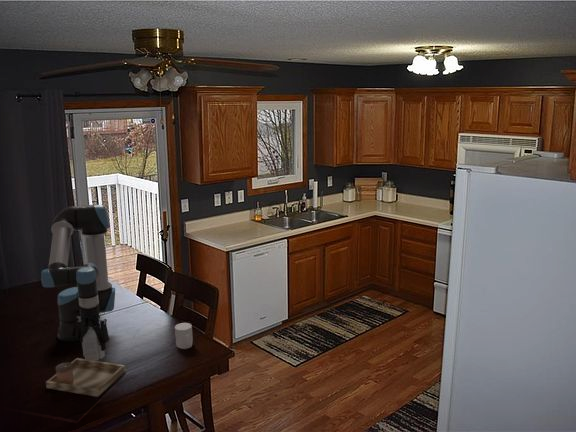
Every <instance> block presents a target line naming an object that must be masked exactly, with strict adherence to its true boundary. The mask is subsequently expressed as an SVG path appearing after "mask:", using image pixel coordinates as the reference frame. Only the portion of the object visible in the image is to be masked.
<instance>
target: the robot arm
mask: <svg viewBox="0 0 576 432" xmlns="http://www.w3.org/2000/svg"><path fill="white" fill-rule="evenodd" d="M110 228H111V223H110V217H109V212H108V210H107V207H106V206H105V205H104V204H87V205H72V206H68V207H65V208H64V209H62V210H61V211H60V212H59V213H58V214H57V215H55V217H54V219H53V221H52V223H51V228H50V230H51V233H52V237H51V238H52V239H51V245H50V252H49V253H50V254H49V258H48V259H49V261H48V265H47V266H48V267H47V268H46V269H42V271H41V273H40V280H41V284H42V285H41V286H42V287H44V288H55V287H57V288H59V287H65V286H66V287H67V286H73V287H69V288H66V289H64V290H62V291H60V292H59V293H58V295H57V306H58V307H57V308H58V315H59V326H58V329H57V330H58V331H57V338H58V340H60V341H61V342H76V341H79V342H80V347H81V349H82V353H83V357H85V354H84V345H83V337H84V336H85V334H86V332H87V331H88V330H94V331H95V333H96V336H97V338H98V340H99V344H98V348H99V360H101V359H103V358H104V357H105V356H106V353H105V351H106V343H108V342H109V341H110V337H109V331H108V327H107V319H106V318H104V319H103V318H101V316H100V314H102V313H104V314H105V313H109V312H112V311H114V309H115V301H116V288H115V287H113V284H112V283H111V282H109V274H108V261H107V251H106V241H105V239H106V238H105V235H106V234H107V233H108V230H109V229H110ZM74 231H81V235H82V236H83V237H84V238H85V246H86V247H85V248H86V256H87V258H86V259H87V262H86V263H85V264H84V265H80V266H72V267H69V266H68V265H69V257H70V249H71V248H70V247H71V239H72V238H71V236H72V235H73V233H74ZM91 328H92V329H91Z"/></svg>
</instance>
